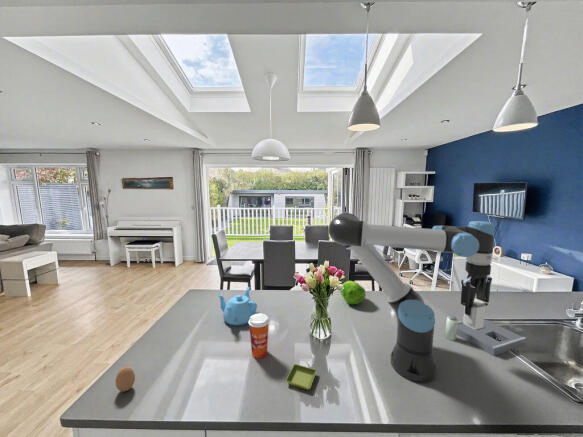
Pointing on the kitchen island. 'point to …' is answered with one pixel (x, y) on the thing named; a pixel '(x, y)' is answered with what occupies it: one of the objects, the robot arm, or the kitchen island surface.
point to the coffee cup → (259, 334)
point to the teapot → (238, 309)
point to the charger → (477, 314)
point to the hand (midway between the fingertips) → (473, 321)
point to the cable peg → (451, 328)
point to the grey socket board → (485, 334)
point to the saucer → (301, 376)
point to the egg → (125, 379)
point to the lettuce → (353, 292)
